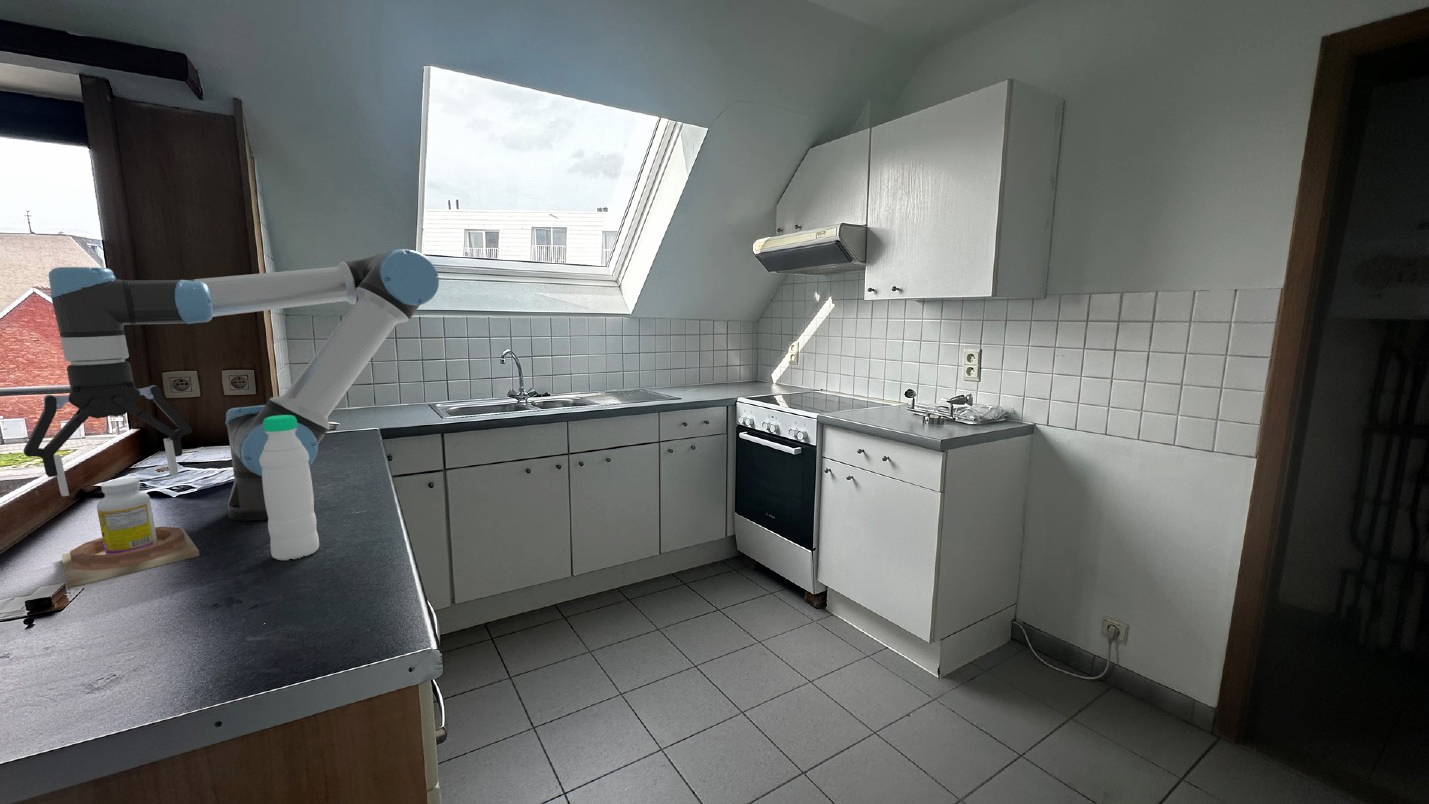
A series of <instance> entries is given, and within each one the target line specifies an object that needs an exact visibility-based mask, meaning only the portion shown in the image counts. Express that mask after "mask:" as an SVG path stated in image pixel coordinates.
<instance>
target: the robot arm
mask: <svg viewBox="0 0 1429 804" xmlns="http://www.w3.org/2000/svg"><path fill="white" fill-rule="evenodd" d="M48 282H49V288H50V289H49V290H50V298H51V302H52V307H53V311H54V315H55V320H56V324H57V328H58V329H57V330H58V332H59V338H60V343H61V347H62V353H63V358H64V361H65V362H68V363H70V364H68V365H67V367H65V368H66V372H67V378H68V382H69V388H70V393H69V394H68V395H53V394H46V395H45V396H43V411H42V412H41V414H40V416H39V419H38V421H37V422H36V424H35V426H34V428H33V430H32V432H31V434H30V436H29V438H28V440H27V442H26V444H25V446H24V448H23V453H24V455H25V456H26V457H37V458H41V459H42V463H43V466H44V472H45V475H46V476H47V477H48V478H54V477H56V479H57V483H58V487H59V492H60V495H61V497H67V496H70V493H69V487H68V484H67V483H68V482H67V478H66V474H65V469H64V465H63V460H62V456H61V455H60V454H56V453H57V452H58V451H59V450H60V449H61V448H62V447H63V446H64V445H65V443H66V442H68V440H69V439H70V438H71V437H72V435H73V434H74V433H75V432H77V430H78V429H79V428H80V427H81V426H82V425H83V424H84V423H85V422H86V421H87V420H88V419H89V418H94V419H104V418H107V417H119V416H120V417H122V416H123V415H125V414H127V413H128V412H129V413H131V414H132V415H134V416H136V417H137V418H139V419H141V420H142V421H144V422H145V423H147V424H148V425H150V426H152V427H153V428H155V429H156V430H158V431H160V432H161V433H163V434H164V435H166V436H167V437H168V438H163V444H164V449H165V455H166V461H167V467H168V472H169V474H170V476H172V477H176V476H179V470H178V465H177V460H176V459H177V458H176V457H180V456H182V455H183V450H182V449H183V448H182V443H181V438H182V437H183V436H186V435H190V434H191V433H192V432H193V429H192V427H191V426H190V425H189V424H188V423H187V422H186V421H185V420H184V419H183V417H182V416H180V415H179V413H178V412H177V411H176V410H175V409H174V408H173V407H172V405H171V404H170V403H169V402H168V401H167V400H166V399H165V398H164V396H163V394H162V390H161V388H160V387H159V386H157V385H155V384H152V385H149V386H147V387H142V388H137V386H136V385H135V382H134V375H133V370H132V365H131V363H130V362H129V361H127V360H126V359H128V358H129V357H130V355H129V348H128V345H127V340H126V335H125V330H124V326H125V325H129V326H130V325H131V326H135V325H165V324H166V325H169V324H171V325H172V324H173V325H174V324H187V325H191V324H198V323H208V322H210V321H212V319H213V317H221V316H230V315H238V314H248V313H255V312H263V311H272V310H281V309H289V308H296V307H305V306H314V305H322V304H329V303H331V304H332V303H338V302H347V303H349V304H350V305H353V306H352V307H351V308H350V309H349V311H348V312H347V313H346V314H345V316H344V317H343V319H342V320H341V321H340V322H339V324H338V325H337V327H335V328H334V330H333V331H332V332H331V334H330V335H329V337H328V338H327V339H326V341H324V343H323V345H321V347H320V348H319V350H318V351H317V352H316V353H315V354H314V356H313V357H312V358H311V360H310V361H309V363H307V365H306V366H305V368H304V369H303V370H301V371H302V372H301V373H299V375H298V376H297V378H296V379H295V380H294V381H293V383H292V384H291V385H290V386H289V388H288V389H287V391H286V392H285V394H283V395H280V396H279V395H278V396H274V397H270V398H269V400H267V402H266V403H265V404H262V405H252V406H243V407H232V408H230V409H227V411H226V413H225V419H226V420H225V422H224V423H225V426H226V427H227V434H228V440H229V449H230V455H231V463H232V470H233V479H234V480H233V485H232V488H231V492H230V495H229V499H228V503H227V515H228V518H229V519H231V520H234V521H241V522H242V521H243V522H245V521H251V522H252V521H263V520H268V519H269V518H268V515H267V510H266V506H265V500H264V492H263V483H262V467H261V466H260V462H259V459H260V456H261V453H262V451H263V450H264V446H265V444H266V442H267V440H268V435H267V434H266V433H265V432H266V431H265V430H264V427H263V421H264V419H265V418H267V417H271V416H278V415H292V416H295V417H296V419H297V428H296V429H297V430H296V431H295V435H296V437H297V438H298V439H299V440H300V441H301V443H302V445H303V446H304V447H305V449H306V450H307V452H308V454H309V461H308V464H309V467H310V466H311V465H312V464H313V463H314V461H315V459H316V457H317V454H318V451H319V450H318V449H319V444H320V442H321V440H323V439H324V437H325V435H326V434H327V432H328V431H329V430H330V428H331V427H330V424H329V416H330V415H331V413H332V412H333V411H334V409H335V407H336V406H337V405H338V404H339V402H340V401H341V400H342V399H343V397H344V396H345V394H346V393H347V392H348V390H349V389H350V387H351V386H352V385H353V383H354V382H355V381H356V380H357V378H358V377H359V375H360V374H361V373H362V371H363V370H364V369H365V368H366V366H367V365H368V364H369V362H370V361H371V359H372V357H374V355H375V354H376V353H377V351H378V350H379V348H380V347H381V345H382V344H383V343H384V342H385V340H386V339H387V337H389V336H390V334H391V332H392V331H393V330H394V328H395V327H396V326H397V324H402V323H407V322H409V321H410V319H411V318H412V317H413V316H414V314H415V312H417V310H418V309H419V308H420V306H421V305H422V306H423V305H425V304H426V303H428V302H429V301H430V300H432V299H433V298H434V297H435V295H436V294H437V292H438V289H439V285H440V278H439V274H438V271H437V268H436V266H435V265H434V263H433V262H432V261H431V260H430V259H429V258H428V257H427V256H426V255H424V254H422V253H421V252H419V251H415V250H413V249H412V250H411V249H406V248H398V249H394V250H392V251H389V252H382V253H379V254H375V255H371V256H369V257H366V258H361V259H355V260H348V261H347V260H346V261H340V263H338V265H337V266H332V267H331V266H330V267H320V268H319V267H318V268H309V269H308V268H307V269H297V270H286V271H276V272H275V271H273V272H263V273H253V274H242V275H241V274H240V275H230V276H229V275H228V276H218V277H217V276H216V277H206V278H196V279H195V278H194V279H188V280H187V279H177V280H175V279H174V280H171V279H169V280H168V279H167V280H166V279H165V280H164V279H162V280H160V279H157V280H154V279H153V280H127V279H117V278H116V276H115V274H114V271H113V270H111V268H107V267H89V266H85V267H84V266H61V267H59V266H58V267H55V268H53V269H51V270H50V271H49V272H48ZM140 396H144V397H145V398H146V399H148V400H152V401H153V402H154V403H155V405H156V406H157V407H159V409H160V410H161V411H162V412H163V413H164V414H165V415H166V416H167V417H168V419H169V420H170V421H171V422H172V423H173V424H174V425H175V426H176V427H177V429H172V428H171V427H169V426H167V424H164V423H163V422H161V421H160V420H158V419H157V418H155V417H154V416H152V415H150V414H149V413H148V412H145V411H144V410H143V409H141V408H140V407H138V406H137V405H135V403H136V402H137V401H138V399H139V398H140ZM68 403H70V404H71V405H73V406H74V407H75V408H77V409H78V410H77V411H75V413H73V415H72V416H71V418H70V419H69V420H68V421H67V423H65V425H64V426H63V427H62V428H61V429H59V431H58V432H57V433H56V435H54V436H53V438H52V439H51V440H50V441H49V442H48V443H47V444H46V445H45V446H44V448H41V447H40V446H41V443H42V442H43V441H44V438H45V437H46V436H45V435H46V434H47V432H48V430H49V428H50V426H51V425H52V422H53V421H54V418H55V416H56V414H57V410H60V409H63V407H64V406H65V404H68ZM313 498H314V499H315V494H314V492H313ZM314 504H315V500H314Z"/></svg>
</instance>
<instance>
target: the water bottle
mask: <svg viewBox="0 0 1429 804" xmlns="http://www.w3.org/2000/svg"><path fill="white" fill-rule="evenodd" d="M263 427H264V430H265V431H266V432H265V433H266V434H267V435H268V440H267V442H266V444H265V446H264V450H263V451H262V453H261V456H260V459H259V462H260V466H261V467H262V483H263V492H264V500H265V506H266V510H267V515H268V518H269V519H267V529H268V530H267V531H268V534H269V537H270V542H269V544H270V553H271V556H272V558H273V559H276V560H279V561H290V560H289V559H293V560H298V559H301V557H302V558H304V557H303V556H305V557H308V556H310V555H312V554H314V553H315V552H316V551H317V550H318V549H319V547H320V539H319V534H318V531H317V524H318V523H317V516H316V513H315V511H314V510H315V509H314V508H315V505H314V504H315V503H314V501H315V497H314V498H313V493H314V487H313V482H312V481H313V480H312V474H311V470H310V466H309V464H308V461H309V454H308V452H307V450H306V449H305V447H304V446H303V445H302V443H301V441H300V440H299V439H298V438H297V437H296V435H295V431H296V430H297V429H296V428H297V419H296V417H295V416H292V415H278V416H271V417H267V418H265V419H264V421H263ZM297 558H298V559H297Z"/></svg>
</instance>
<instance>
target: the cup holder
mask: <svg viewBox="0 0 1429 804" xmlns="http://www.w3.org/2000/svg"><path fill="white" fill-rule="evenodd" d="M155 530H156V536H157V543H156V544H153V545H150V546H147V547H144V548H140V549H135V550H131V551H126V552H122V553H114V554H106V553H105V549H104V544H103V538H102V537H99V538H96V539H92V540H90V541H87V542H84V543H82V544H80V545H79V546H77V547H75V548H73V549H71V550H70V551H69V552H68V553H64V554H61V556H62V557H61V558H62V562H63V570H64V574H65V580H66V581H65V582H66V585H67V586H68V587H70V588H74V587H77V586H81V585H86V584H89V583H93V582H98V581H102V580H106V579H110V578H114V577H117V576H122V575H126V574H131V573H134V572H138V571H143V570H147V569H151V568H156V567H158V566H163V565H167V564H168V565H169V564H171V563H175V562H180V561H183V560H184V561H185V560H188V559H192V558H195V557H196V558H197V557H200V550H199V549H198V547H197V546H196V545H195V543H194V542H193V540H192V539H191V538H190V536H189V535H188V534H187V532H186V531H185V529H184V528H181V527H175V526H174V527H173V526H155ZM67 586H66V587H67ZM68 587H67V588H68Z"/></svg>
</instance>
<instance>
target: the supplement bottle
mask: <svg viewBox="0 0 1429 804" xmlns="http://www.w3.org/2000/svg"><path fill="white" fill-rule="evenodd" d="M100 487H101V492H102V493H103V494H104V497H103V498H102V499H100V500H98V502H97V504H96V511H97V516H98V523H99V525H100V532H101V538H103V544H104V549H105V553H106V554H114V553H122V552H126V551H131V550H135V549H140V548H144V547H147V546H150V545H153V544H156V543H157V536H156V530H155V527H156V525H155V521H154V514H153V510H152V508H153V507H152V501H151V497H150V495H149V494H148V493H146V492H143V491H140V487H141V483H140V479H139V478H134V477H131V478H129V477H128V478H121V479H115V480H111V481H106V482H104V483H102V484H101V486H100Z"/></svg>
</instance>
